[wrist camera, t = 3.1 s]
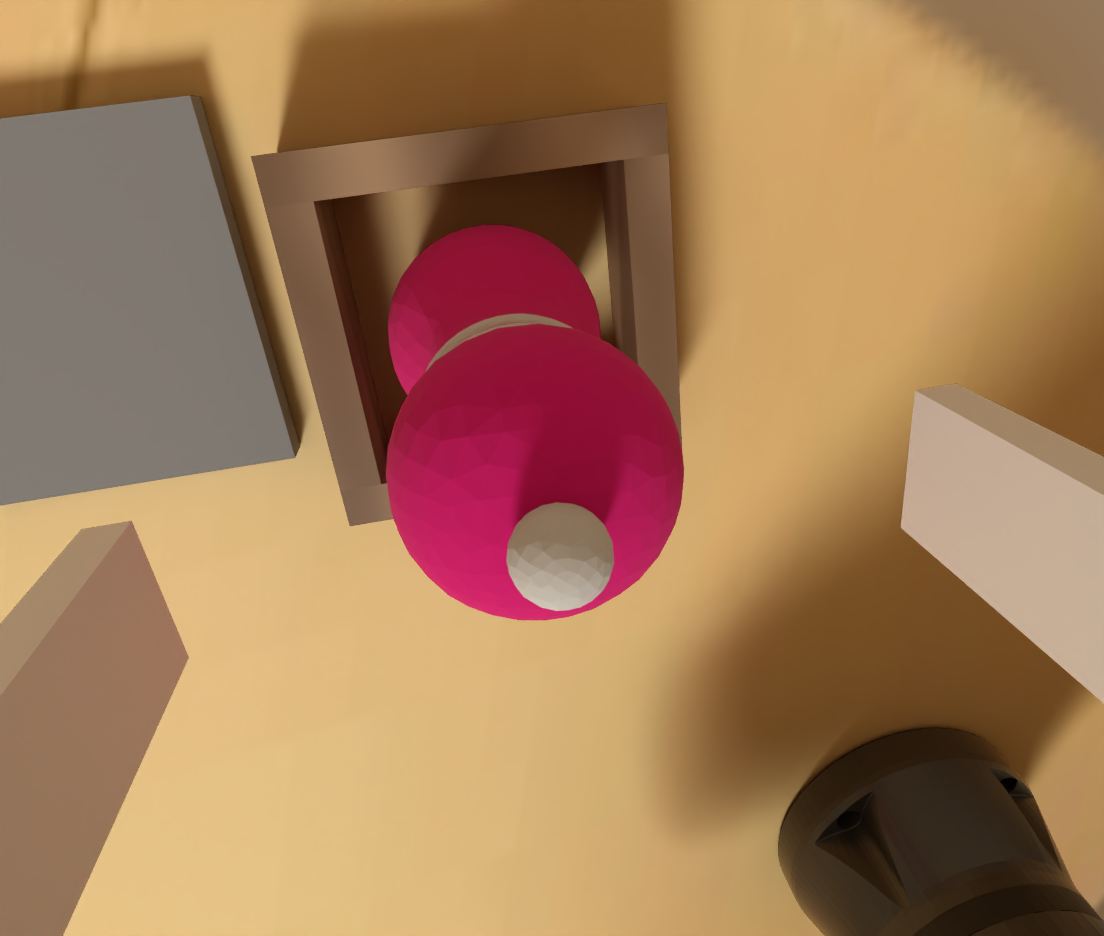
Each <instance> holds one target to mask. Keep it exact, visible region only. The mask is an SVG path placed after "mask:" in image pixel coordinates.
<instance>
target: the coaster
mask: <svg viewBox="0 0 1104 936" xmlns="http://www.w3.org/2000/svg"><path fill="white" fill-rule="evenodd" d="M299 448H300V444H299V441H298V437H297V434H296V430H295V427H294V423H293V420H292V416H291V413H290V409H289V406H288V402H287V399H286V395H285V392H284V388H283V385H282V381H281V378H280V374H279V371H278V367H277V364H276V360H275V357H274V353H273V350H272V346H271V343H270V339H269V336H268V332H267V329H266V325H265V322H264V318H263V315H262V311H261V307H260V304H259V300H258V297H257V293H256V290H255V286H254V283H253V279H252V276H251V272H250V269H249V265H248V262H247V258H246V255H245V251H244V248H243V244H242V241H241V237H240V234H239V230H238V227H237V223H236V220H235V216H234V213H233V209H232V206H231V202H230V199H229V195H228V192H227V188H226V185H225V181H224V178H223V174H222V171H221V167H220V164H219V160H218V157H217V153H216V150H215V146H214V143H213V139H212V136H211V132H210V129H209V125H208V122H207V118H206V115H205V111H204V108H203V104H202V101H201V97H197V96H191V95H189V96H181V97H173V98H164V99H156V100H148V101H140V102H132V103H123V104H115V105H107V106H99V107H90V108H82V109H74V110H66V111H57V112H49V113H41V114H33V115H25V116H16V117H8V118H0V505H6V504H12V503H19V502H25V501H31V500H37V499H43V498H49V497H56V496H62V495H68V494H74V493H80V492H87V491H93V490H99V489H105V488H111V487H117V486H124V485H130V484H136V483H142V482H148V481H155V480H161V479H167V478H173V477H179V476H185V475H192V474H198V473H204V472H210V471H216V470H223V469H229V468H235V467H241V466H247V465H253V464H260V463H266V462H272V461H278V460H284V459H291V458H295V457H296V455H297V452H298V450H299Z"/></svg>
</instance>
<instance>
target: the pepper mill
mask: <svg viewBox="0 0 1104 936" xmlns="http://www.w3.org/2000/svg"><path fill="white" fill-rule="evenodd" d="M388 336H389V347H390V352H391V357H392V361H393V365H394V369H395V372H396V374H397V377H398V379H399V381H400V384H401V385H402V387H403V389H404V390H405V392H406V393H407V395H408V396H407V397H406V399H405V401H404V403H403V404H402V406H401V408H400V411H399V413H398V416H397V418H396V421H395V423H394V427H393V430H392V434H391V437H390V441H389V444H388V451H387V467H386V480H387V488H388V495H389V502H390V509H391V513H392V515H393V518H394V521H395V523H396V526H397V529H398V531H399V534H400V536H401V538H402V540H403V542H404V544H405V546H406V548H407V550H408V552H409V554H410V555H411V557H412V558H413V559H414V560H415V561H416V563H417V564H418V565H419V566H420V568H421V569H422V570H423V571H424V573H425V574H426V575H427V576H428V577H429V578H430V579H431V580H432V581H433V582H434V583H436V584H437V585H438V586H439V587H440V588H441V589H442V590H443V591H444V592H446V593H447V594H448V595H449V596H451V597H453V598H455V599H456V600H458V601H460V602H462V603H463V604H465V605H467V606H469V607H472V608H474V609H477V610H480V611H483V612H485V613H488V614H491V615H495V616H500V617H506V618H511V619H516V620H550V619H557V618H564V617H570V616H573V615H576V614H579V613H582V612H585V611H588V610H591V609H594V608H596V607H598V606H599V605H601V604H603V603H605V602H607V601H608V600H610V599H612V598H614V597H616V596H617V595H619V594H621V593H622V592H623V591H625V590H626V589H627V588H629V587H630V586H631V585H633V584H634V583H635V582H637V581H638V580H639V579H640V578H641V577H642V576H643V574H644V573H645V572H646V571H647V570H648V568H649V567H650V566H651V565H652V564H653V562H654V561H655V560H656V559H657V558H658V557H659V555H660V553H661V551H662V549H663V547H664V545H665V544H666V542H667V540H668V538H669V536H670V534H671V532H672V530H673V528H674V526H675V523H676V519H677V516H678V512H679V509H680V505H681V499H682V489H683V477H684V465H683V455H682V449H681V443H680V438H679V433H678V429H677V426H676V424H675V421H674V418H673V416H672V413H671V410H670V408H669V406H668V405H667V403H666V401H665V399H664V398H663V396H662V394H661V393H660V391H659V390H658V389H657V387H656V386H655V385H654V384H653V382H652V381H651V380H650V379H649V377H648V376H647V375H646V373H645V372H644V371H643V370H642V368H641V367H640V366H639V365H637V364H636V363H635V362H634V361H633V360H631V359H630V358H629V357H628V356H626V355H625V354H624V353H622V352H621V351H620V350H618V349H617V348H615V347H614V346H613V345H611V344H610V343H608V342H605V341H603V340H601V339H600V338H601V332H600V322H599V314H598V310H597V307H596V303H595V299H594V297H593V295H592V293H591V291H590V288H589V286H588V284H587V282H586V280H585V278H584V276H583V275H582V274H581V272H580V271H579V269H578V268H577V266H576V265H575V263H574V262H573V261H572V260H571V259H570V258H569V257H568V256H567V255H566V254H565V253H564V252H563V251H562V250H561V249H559V248H558V247H557V246H555V245H554V244H553V243H552V242H550V241H548V240H547V239H545V238H543V237H541V236H539V235H537V234H535V233H533V232H530V231H527V230H524V229H521V228H517V227H511V226H505V225H480V226H475V227H469V228H465V229H462V230H459V231H456V232H453V233H450V234H448V235H446V236H445V237H443V238H441V239H439V240H438V241H436V242H434V243H433V244H431V245H430V246H429V247H427V248H426V249H425V250H424V251H423V252H422V253H421V254H420V255H419V256H418V257H416V258H415V259H414V261H413V262H412V263H411V265H410V266H409V267H408V269H407V270H406V271H405V273H404V274H403V276H402V277H401V280H400V282H399V284H398V286H397V288H396V290H395V293H394V295H393V299H392V303H391V307H390V310H389V321H388Z"/></svg>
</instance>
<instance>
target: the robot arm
mask: <svg viewBox="0 0 1104 936" xmlns="http://www.w3.org/2000/svg"><path fill="white" fill-rule="evenodd" d="M901 528H902V529H903V530H904V531H905V532H906V533H907V534H909V535H910V536H911V537H912V538H913V539H914V540H916V541H917V542H918V543H919V544H920V545H921V546H922V547H924V548H925V549H926V550H927V551H928V552H929V553H931V554H932V555H933V556H934V557H935V558H936V559H937V560H939V561H940V562H941V563H942V564H943V565H944V566H946V567H947V568H948V569H949V570H950V571H951V572H952V573H954V574H955V575H956V576H957V577H958V578H959V579H961V580H962V581H963V582H964V583H965V584H966V585H967V586H969V587H970V588H971V589H972V590H973V591H974V592H976V593H977V594H978V595H979V596H980V597H981V598H983V599H984V600H985V601H986V602H987V603H988V604H989V605H991V606H992V607H993V608H994V609H995V610H996V611H998V612H999V613H1000V614H1001V615H1002V616H1003V617H1004V618H1006V619H1007V620H1008V621H1009V622H1010V623H1011V624H1013V625H1014V626H1015V627H1016V628H1017V629H1018V630H1019V631H1021V632H1022V633H1023V634H1024V635H1025V636H1026V637H1028V638H1029V639H1030V640H1031V641H1032V642H1033V643H1034V644H1036V645H1037V646H1038V647H1039V648H1040V649H1041V650H1043V651H1044V652H1045V653H1046V654H1047V655H1048V656H1049V657H1051V658H1052V659H1053V660H1054V661H1055V662H1056V663H1058V664H1059V665H1060V666H1061V667H1062V668H1063V669H1065V670H1066V671H1067V672H1068V673H1069V674H1070V675H1071V676H1073V677H1074V678H1075V679H1076V680H1077V681H1078V682H1080V683H1081V684H1082V685H1083V686H1084V687H1085V688H1086V689H1088V690H1089V691H1090V692H1091V693H1092V694H1093V695H1095V696H1096V697H1097V698H1098V699H1099V700H1100V701H1101V702H1103V703H1104V457H1103V456H1101V455H1099V454H1097V453H1095V452H1093V451H1091V450H1089V449H1087V448H1085V447H1083V446H1081V445H1079V444H1077V443H1075V442H1073V441H1071V440H1069V439H1067V438H1065V437H1063V436H1061V435H1059V434H1057V433H1055V432H1053V431H1051V430H1049V429H1047V428H1045V427H1043V426H1041V425H1039V424H1037V423H1035V422H1033V421H1031V420H1029V419H1027V418H1025V417H1023V416H1021V415H1019V414H1017V413H1015V412H1013V411H1011V410H1009V409H1007V408H1005V407H1003V406H1001V405H999V404H997V403H995V402H993V401H991V400H989V399H987V398H985V397H983V396H981V395H979V394H977V393H975V392H973V391H971V390H969V389H967V388H965V387H963V386H961V385H959V384H951V385H945V386H939V387H933V388H927V389H921V390H915V396H914V406H913V415H912V425H911V434H910V444H909V453H908V462H907V472H906V481H905V491H904V500H903V510H902V519H901ZM188 658H189V657H188V655H187V652H186V650H185V647H184V645H183V643H182V640H181V638H180V635H179V633H178V631H177V628H176V626H175V624H174V621H173V619H172V616H171V614H170V612H169V609H168V607H167V604H166V602H165V600H164V597H163V595H162V592H161V590H160V588H159V585H158V583H157V580H156V578H155V576H154V573H153V571H152V569H151V566H150V564H149V561H148V559H147V557H146V554H145V552H144V549H143V547H142V545H141V542H140V540H139V537H138V535H137V533H136V530H135V528H134V525H133V523H132V521H128V522H122V523H116V524H110V525H104V526H98V527H92V528H86V529H81V530H80V531H79V533H78V534H77V535H76V536H75V537H74V538H73V540H72V541H71V542H70V543H69V544H68V545H67V547H66V548H65V549H64V550H63V551H62V552H61V554H60V555H59V556H58V557H57V558H56V559H55V561H54V562H53V563H52V564H51V565H50V566H49V568H48V569H47V570H46V571H45V572H44V573H43V575H42V576H41V577H40V578H39V579H38V580H37V582H36V583H35V584H34V585H33V586H32V587H31V589H30V590H29V591H28V592H27V593H26V594H25V596H24V597H23V598H22V599H21V600H20V601H19V603H18V604H17V605H16V606H15V607H14V608H13V610H12V611H11V612H10V613H9V614H8V615H7V617H6V618H5V619H4V620H3V621H2V622H1V624H0V936H63V934H64V932H65V930H66V928H67V925H68V923H69V921H70V919H71V916H72V914H73V912H74V910H75V908H76V905H77V903H78V901H79V899H80V897H81V894H82V892H83V890H84V888H85V886H86V883H87V881H88V879H89V877H90V874H91V872H92V870H93V868H94V866H95V863H96V861H97V859H98V857H99V855H100V852H101V850H102V848H103V846H104V844H105V841H106V839H107V837H108V835H109V833H110V830H111V828H112V826H113V824H114V821H115V819H116V817H117V815H118V813H119V810H120V808H121V806H122V804H123V802H124V799H125V797H126V795H127V793H128V791H129V788H130V786H131V784H132V782H133V779H134V777H135V775H136V773H137V771H138V768H139V766H140V764H141V762H142V760H143V757H144V755H145V753H146V751H147V749H148V746H149V744H150V742H151V740H152V737H153V735H154V733H155V731H156V729H157V726H158V724H159V722H160V720H161V718H162V715H163V713H164V711H165V709H166V707H167V704H168V702H169V700H170V698H171V695H172V693H173V691H174V689H175V687H176V684H177V682H178V680H179V678H180V676H181V673H182V671H183V669H184V667H185V665H186V662H187V660H188ZM778 856H779V862H780V866H781V868H782V871H783V873H784V875H785V877H786V880H787V882H788V884H789V886H790V888H791V890H792V892H793V894H794V896H795V899H796V900H797V902H798V904H799V906H800V907H801V909H802V910H803V911H804V913H805V914H806V915H807V917H808V918H809V919H810V920H811V921H812V922H813V923H814V924H815V926H816V927H817V928H818V929H819V930H820V931H821V932H822V933H823V934H824V935H825V936H1104V921H1103V920H1102V919H1101V918H1100V917H1099V915H1098V914H1097V913H1096V912H1095V910H1094V909H1093V908H1092V907H1091V906H1090V905H1089V903H1088V902H1087V901H1086V900H1085V899H1084V897H1083V896H1082V895H1081V894H1080V892H1079V891H1078V890H1077V889H1076V887H1075V885H1074V884H1073V882H1072V880H1071V877H1070V875H1069V873H1068V871H1067V869H1066V866H1065V864H1064V862H1063V860H1062V858H1061V855H1060V853H1059V851H1058V849H1057V847H1056V845H1055V842H1054V840H1053V838H1052V836H1051V834H1050V831H1049V829H1048V827H1047V825H1046V823H1045V820H1044V818H1043V816H1042V814H1041V812H1040V809H1039V807H1038V805H1037V803H1036V801H1035V798H1034V796H1033V794H1032V792H1031V790H1030V788H1029V787H1028V785H1027V784H1026V782H1025V781H1024V779H1023V778H1022V777H1021V775H1020V774H1019V773H1018V772H1017V771H1016V770H1015V769H1014V768H1013V767H1012V765H1011V764H1010V763H1009V762H1008V761H1007V760H1006V759H1005V758H1004V757H1003V755H1002V754H1001V753H1000V752H999V751H998V750H997V749H996V748H995V747H994V746H993V745H991V744H990V743H989V742H987V741H986V740H984V739H982V738H980V737H978V736H976V735H973V734H970V733H967V732H963V731H959V730H953V729H937V728H933V729H920V730H913V731H907V732H903V733H898V734H895V735H891V736H888V737H885V738H882V739H879V740H877V741H874V742H872V743H869V744H867V745H865V746H863V747H861V748H859V749H857V750H855V751H853V752H851V753H849V754H848V755H846V756H844V757H843V758H841V759H840V760H838V761H837V762H835V763H834V764H832V765H831V766H830V767H828V768H827V769H826V770H825V771H823V772H822V773H821V774H820V775H819V776H818V777H817V778H815V779H814V780H813V781H812V782H811V783H810V784H809V785H808V786H807V788H806V789H805V790H804V791H803V792H802V793H801V795H800V796H799V797H798V799H797V800H796V801H795V803H794V804H793V806H792V807H791V809H790V811H789V813H788V814H787V817H786V819H785V821H784V823H783V826H782V829H781V833H780V837H779V843H778Z"/></svg>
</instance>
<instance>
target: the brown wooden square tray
mask: <svg viewBox="0 0 1104 936" xmlns="http://www.w3.org/2000/svg"><path fill="white" fill-rule="evenodd" d="M251 158H252V162H253V166H254V169H255V173H256V177H257V181H258V184H259V188H260V192H261V195H262V199H263V203H264V207H265V210H266V214H267V218H268V222H269V225H270V229H271V233H272V237H273V240H274V244H275V248H276V252H277V255H278V259H279V263H280V267H281V270H282V274H283V278H284V282H285V285H286V289H287V293H288V296H289V300H290V304H291V308H292V311H293V315H294V319H295V323H296V326H297V330H298V334H299V338H300V341H301V345H302V349H303V353H304V356H305V360H306V364H307V368H308V371H309V375H310V379H311V383H312V386H313V390H314V394H315V397H316V401H317V405H318V409H319V412H320V416H321V420H322V424H323V427H324V431H325V435H326V439H327V442H328V446H329V450H330V454H331V457H332V461H333V465H334V469H335V472H336V476H337V480H338V484H339V487H340V491H341V495H342V498H343V502H344V506H345V510H346V513H347V517H348V521H349V525H350V526H354V525H360V524H366V523H372V522H378V521H383V520H389V519H394V518H393V515H392V513H391V509H390V502H389V495H388V488H387V480H386V467H387V451H388V444H389V443H388V444H387V440H386V435H385V431H384V427H383V422H382V418H381V414H380V409H379V405H378V401H377V396H376V392H375V387H374V383H373V379H372V374H371V370H370V366H369V361H368V357H367V353H366V348H365V344H364V340H363V335H362V331H361V327H360V322H359V318H358V314H357V309H356V305H355V301H354V296H353V292H352V287H351V283H350V279H349V274H348V270H347V266H346V261H345V257H344V253H343V248H342V244H341V240H340V235H339V231H338V227H337V222H336V218H335V214H334V209H333V205H332V200H331V199H335V198H342V197H350V196H357V195H364V194H372V193H379V192H387V191H394V190H402V189H409V188H417V187H424V186H431V185H439V184H446V183H454V182H461V181H469V180H476V179H483V178H491V177H498V176H506V175H513V174H521V173H528V172H535V171H543V170H550V169H558V168H565V167H573V166H580V165H587V164H595V163H600V171H601V183H602V196H603V208H604V220H605V232H606V244H607V256H608V268H609V281H610V293H611V305H612V317H613V329H614V341H615V348H617V349H618V350H620V351H621V352H622V353H624V354H625V355H626V356H628V357H629V358H630V359H631V360H633V361H634V362H635V363H636V364H637V365H639V366H640V367H641V368H642V370H643V371H644V372H645V373H646V375H647V376H648V377H649V379H650V380H651V381H652V382H653V384H654V385H655V386H656V387H657V389H658V390H659V391H660V393H661V394H662V396H663V398H664V399H665V401H666V403H667V405H668V406H669V408H670V410H671V413H672V416H673V418H674V421H675V424H676V426H677V429H678V433H679V438H680V443H681V449H682V437H681V415H680V393H679V371H678V349H677V327H676V305H675V283H674V261H673V239H672V217H671V195H670V173H669V151H668V129H667V107H666V103H660V104H652V105H644V106H637V107H629V108H621V109H613V110H606V111H598V112H590V113H582V114H574V115H567V116H559V117H551V118H543V119H536V120H528V121H520V122H512V123H505V124H497V125H489V126H481V127H474V128H466V129H458V130H450V131H443V132H435V133H427V134H419V135H411V136H404V137H396V138H388V139H380V140H373V141H365V142H357V143H349V144H342V145H334V146H326V147H318V148H311V149H303V150H295V151H287V152H280V153H272V154H264V155H257V156H251Z"/></svg>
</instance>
